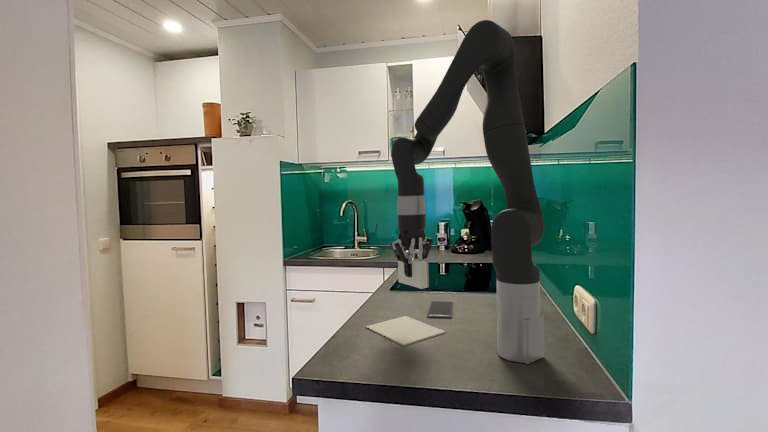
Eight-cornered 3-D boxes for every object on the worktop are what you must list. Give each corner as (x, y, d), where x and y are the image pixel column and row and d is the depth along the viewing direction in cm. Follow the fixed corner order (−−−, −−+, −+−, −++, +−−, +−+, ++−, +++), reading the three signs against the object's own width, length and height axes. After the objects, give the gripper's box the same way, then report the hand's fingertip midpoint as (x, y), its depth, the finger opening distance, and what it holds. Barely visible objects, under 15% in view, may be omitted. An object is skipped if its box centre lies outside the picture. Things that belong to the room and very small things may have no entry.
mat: (445, 332, 106) (445, 331, 106) (403, 346, 98) (403, 344, 98) (405, 317, 120) (405, 315, 120) (366, 327, 112) (366, 326, 112)
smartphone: (453, 301, 133) (451, 315, 117) (453, 304, 133) (451, 319, 117) (431, 300, 134) (426, 314, 119) (431, 304, 135) (426, 318, 119)
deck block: (428, 287, 106) (428, 261, 105) (421, 288, 104) (421, 262, 104) (405, 280, 114) (404, 256, 114) (398, 282, 113) (397, 257, 112)
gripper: (399, 214, 101) (401, 282, 102) (440, 211, 109) (441, 274, 110) (382, 213, 107) (384, 277, 108) (422, 210, 115) (423, 270, 116)
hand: (413, 275), depth 109 cm, fingers closed on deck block, 2 cm apart
